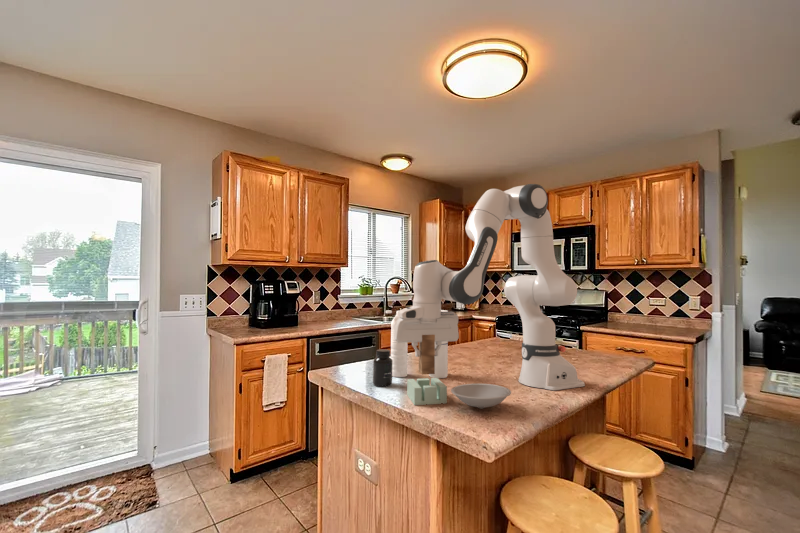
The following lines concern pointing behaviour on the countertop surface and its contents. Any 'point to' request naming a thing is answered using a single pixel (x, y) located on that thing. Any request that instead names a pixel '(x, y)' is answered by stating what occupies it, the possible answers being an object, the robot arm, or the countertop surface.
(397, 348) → the water bottle
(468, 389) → the dish
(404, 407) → the countertop surface
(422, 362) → the peg
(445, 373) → the cylindrical container
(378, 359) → the supplement bottle
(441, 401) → the socket
